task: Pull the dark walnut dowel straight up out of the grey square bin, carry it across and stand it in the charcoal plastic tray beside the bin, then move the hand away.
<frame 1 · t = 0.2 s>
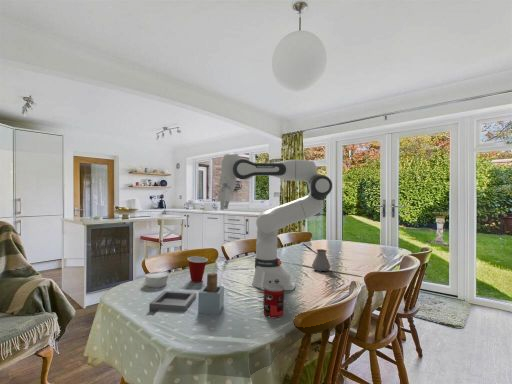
hand: (224, 209, 150), 39 cm above the table, tool pointing down, fingers open, 8 cm apart
tray: (173, 304, 119), on the table
ramekin: (156, 285, 143), on the table
walnut dowel: (211, 309, 113), point 1 cm above the table, touching grey square bin
plastic cup: (197, 280, 152), on the table
grey square bin: (211, 311, 113), on the table
canned food: (273, 314, 113), on the table
coffee pot: (314, 269, 183), on the table
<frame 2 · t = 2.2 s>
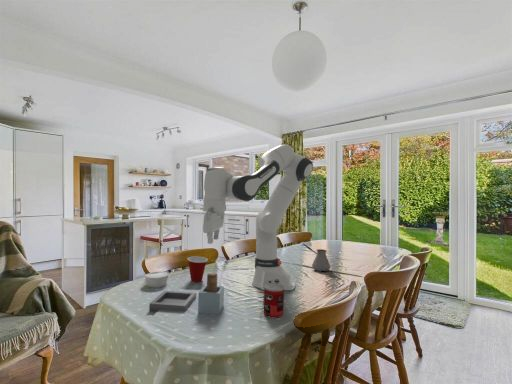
hand: (213, 241, 113), 28 cm above the table, tool pointing down, fingers open, 8 cm apart
nothing on the table moved.
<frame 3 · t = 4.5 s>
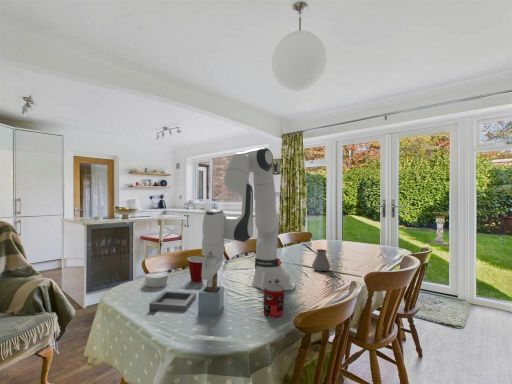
hand: (212, 284, 113), 11 cm above the table, tool pointing down, fingers closed on walnut dowel, 4 cm apart
walnut dowel: (211, 309, 113), point 1 cm above the table, touching grey square bin, gripper
everything else where it was.
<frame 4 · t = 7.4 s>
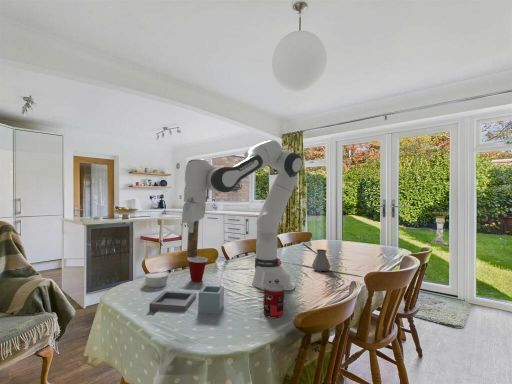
hand: (193, 231, 116), 32 cm above the table, tool pointing down, fingers closed on walnut dowel, 4 cm apart
walnut dowel: (191, 256, 116), point 22 cm above the table, touching gripper
everything else where it was.
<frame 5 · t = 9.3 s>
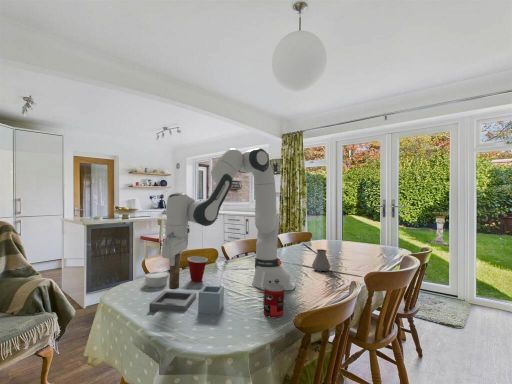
hand: (175, 263, 119), 17 cm above the table, tool pointing down, fingers closed on walnut dowel, 4 cm apart
walnut dowel: (174, 287, 119), point 7 cm above the table, touching gripper
everything else where it was.
when the fingers open (13 cm above the table, at t = 10.6 s): walnut dowel drops 2 cm, resting on tray.
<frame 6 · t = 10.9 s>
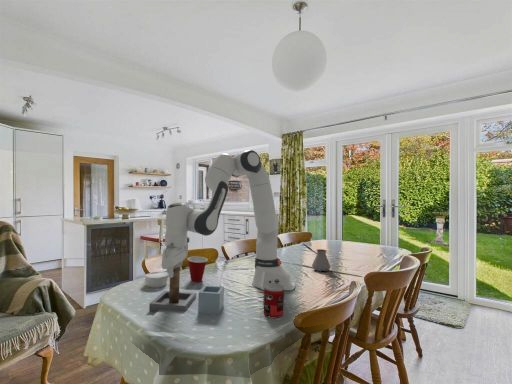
hand: (175, 274, 119), 13 cm above the table, tool pointing down, fingers open, 7 cm apart
walnut dowel: (173, 302, 119), point 1 cm above the table, touching tray
everything else where it was.
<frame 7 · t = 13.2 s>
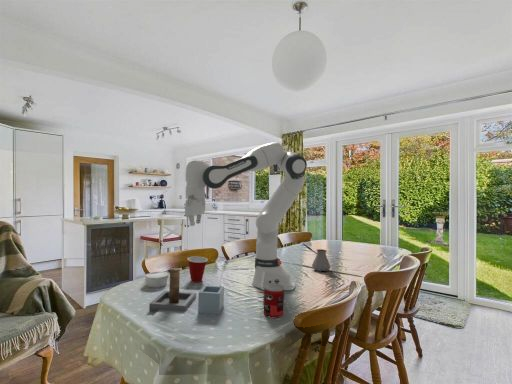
hand: (195, 224, 132), 33 cm above the table, tool pointing down, fingers open, 8 cm apart
nothing on the table moved.
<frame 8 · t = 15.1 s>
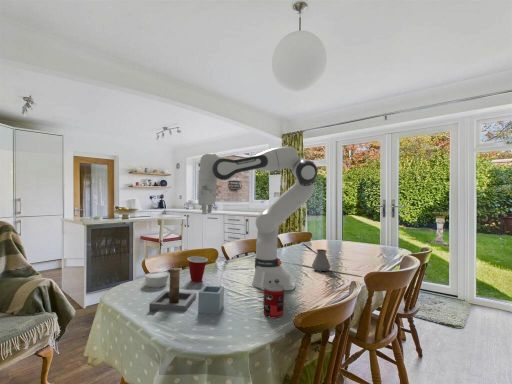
hand: (206, 213, 141), 37 cm above the table, tool pointing down, fingers open, 8 cm apart
nothing on the table moved.
at the end: walnut dowel inside the target area on the tray (0.1 cm from its centre), point 1.0 cm above the tray's base; walnut dowel tilted 0°; the gripper is holding nothing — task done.
